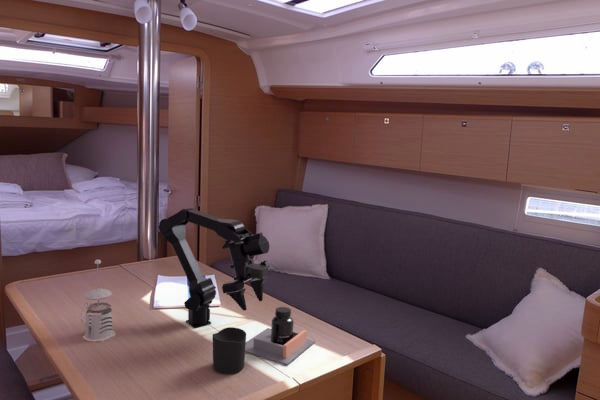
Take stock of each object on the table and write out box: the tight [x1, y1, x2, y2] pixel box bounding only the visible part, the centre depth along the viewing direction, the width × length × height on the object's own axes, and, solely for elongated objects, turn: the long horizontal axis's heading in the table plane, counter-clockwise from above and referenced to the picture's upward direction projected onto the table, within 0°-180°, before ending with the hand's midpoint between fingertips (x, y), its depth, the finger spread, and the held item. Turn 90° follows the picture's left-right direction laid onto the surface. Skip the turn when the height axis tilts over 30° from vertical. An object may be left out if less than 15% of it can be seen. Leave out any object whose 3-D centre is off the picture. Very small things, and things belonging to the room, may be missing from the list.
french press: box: [80, 259, 115, 340], centre depth 150 cm, size 10×12×25 cm
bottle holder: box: [245, 327, 316, 367], centre depth 150 cm, size 18×18×5 cm
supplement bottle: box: [270, 306, 295, 345], centre depth 149 cm, size 7×7×12 cm
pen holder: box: [212, 326, 247, 375], centre depth 135 cm, size 9×9×10 cm
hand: (253, 305), depth 155 cm, fingers open, 9 cm apart
